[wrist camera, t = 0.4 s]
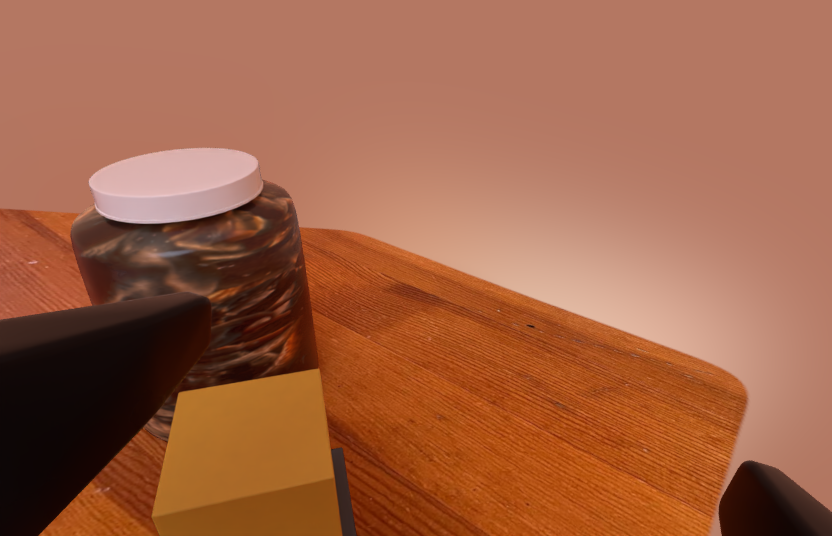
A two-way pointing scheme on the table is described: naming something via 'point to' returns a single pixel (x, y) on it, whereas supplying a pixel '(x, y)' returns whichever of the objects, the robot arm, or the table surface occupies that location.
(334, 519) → the top block
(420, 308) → the table surface
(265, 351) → the jar
